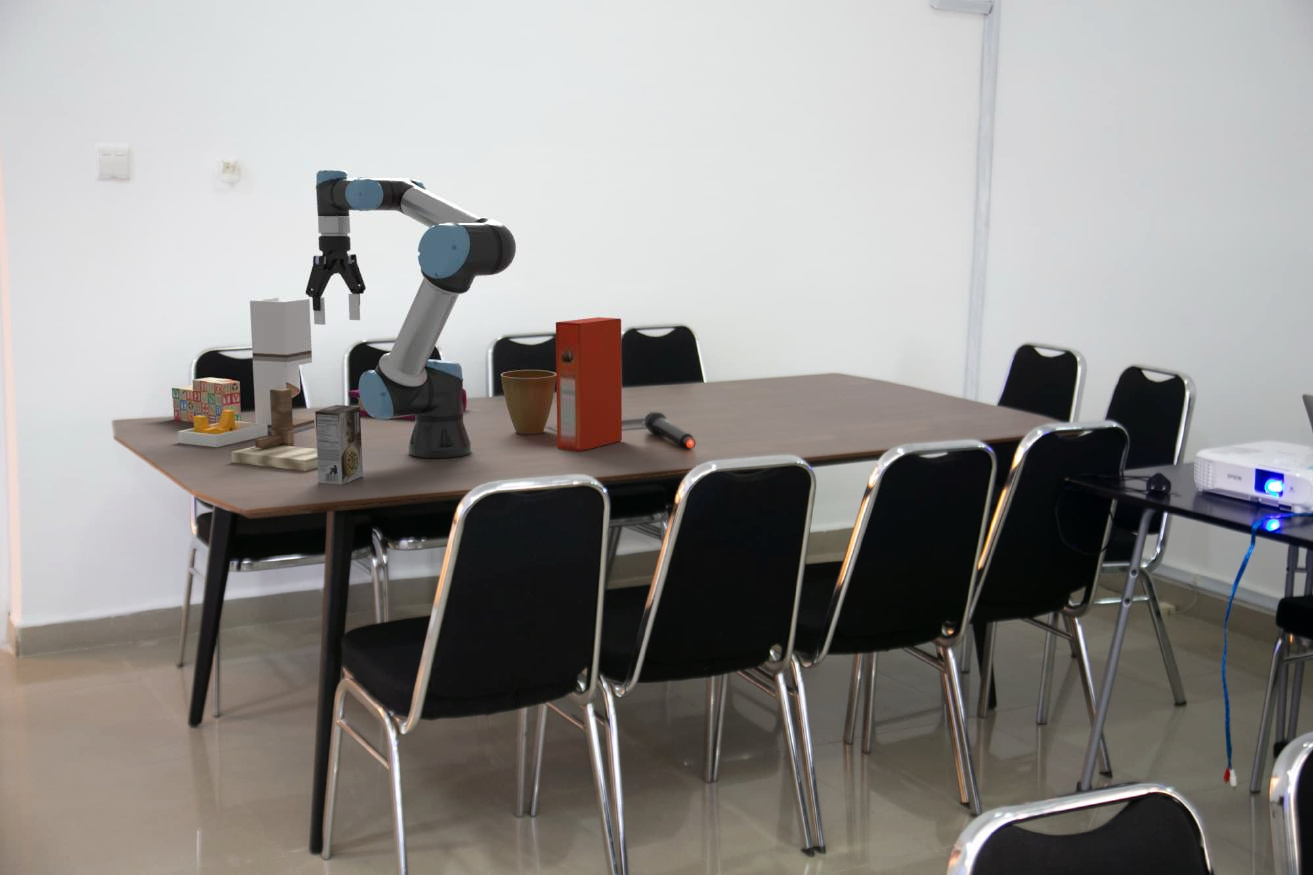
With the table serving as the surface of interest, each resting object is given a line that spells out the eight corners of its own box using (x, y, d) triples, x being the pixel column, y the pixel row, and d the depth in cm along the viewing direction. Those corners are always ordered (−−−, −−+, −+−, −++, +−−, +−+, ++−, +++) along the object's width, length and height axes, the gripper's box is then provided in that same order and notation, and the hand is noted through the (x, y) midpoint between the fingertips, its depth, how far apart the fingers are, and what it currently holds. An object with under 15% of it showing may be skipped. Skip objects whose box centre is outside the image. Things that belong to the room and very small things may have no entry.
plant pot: (496, 428, 349) (496, 370, 346) (549, 426, 354) (549, 369, 351) (507, 438, 335) (506, 378, 333) (562, 435, 340) (562, 376, 337)
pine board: (339, 461, 304) (338, 451, 303) (306, 470, 293) (305, 460, 292) (266, 453, 313) (266, 443, 312) (231, 462, 302) (231, 451, 301)
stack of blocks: (173, 420, 360) (170, 376, 358) (191, 417, 365) (189, 374, 363) (223, 427, 349) (221, 383, 346) (242, 424, 354) (239, 380, 352)
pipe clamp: (207, 442, 327) (206, 417, 326) (194, 441, 329) (193, 416, 328) (240, 435, 338) (239, 411, 337) (228, 433, 340) (226, 409, 339)
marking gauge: (295, 451, 312) (292, 389, 310) (267, 459, 303) (264, 394, 301) (279, 450, 314) (276, 387, 312) (251, 457, 306) (247, 393, 303)
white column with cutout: (290, 433, 339) (284, 301, 333) (256, 431, 343) (249, 300, 336) (314, 426, 350) (309, 299, 344) (281, 424, 353) (275, 297, 347)
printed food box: (338, 474, 289) (335, 404, 286) (363, 476, 287) (361, 406, 284) (316, 483, 281) (313, 410, 278) (342, 485, 279) (340, 412, 276)
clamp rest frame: (267, 435, 337) (267, 424, 336) (216, 447, 320) (216, 435, 320) (230, 431, 342) (230, 420, 341) (178, 442, 325) (178, 431, 325)
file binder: (556, 448, 323) (555, 321, 317) (596, 438, 337) (596, 316, 331) (581, 451, 319) (581, 323, 313) (621, 441, 333) (622, 318, 327)
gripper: (353, 233, 323) (356, 317, 327) (287, 235, 301) (291, 325, 305) (377, 234, 320) (380, 318, 324) (313, 236, 298) (317, 326, 302)
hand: (337, 322), depth 314 cm, fingers open, 13 cm apart
